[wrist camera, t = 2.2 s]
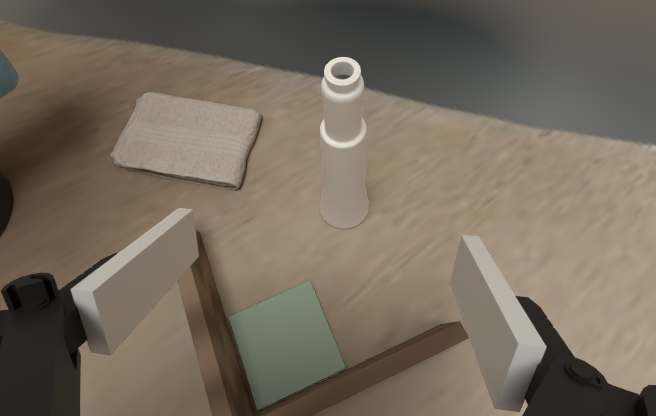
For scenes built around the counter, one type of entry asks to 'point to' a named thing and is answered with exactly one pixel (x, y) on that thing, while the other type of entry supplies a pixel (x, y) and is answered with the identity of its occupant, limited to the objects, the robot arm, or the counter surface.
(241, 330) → the mat
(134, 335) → the counter surface
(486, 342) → the robot arm
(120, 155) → the washcloth
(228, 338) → the walnut corner walls
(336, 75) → the cosmetic bottle
